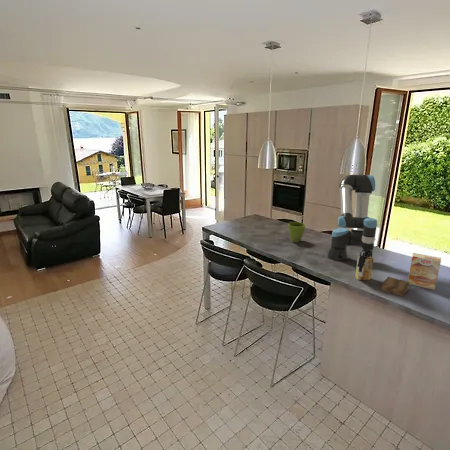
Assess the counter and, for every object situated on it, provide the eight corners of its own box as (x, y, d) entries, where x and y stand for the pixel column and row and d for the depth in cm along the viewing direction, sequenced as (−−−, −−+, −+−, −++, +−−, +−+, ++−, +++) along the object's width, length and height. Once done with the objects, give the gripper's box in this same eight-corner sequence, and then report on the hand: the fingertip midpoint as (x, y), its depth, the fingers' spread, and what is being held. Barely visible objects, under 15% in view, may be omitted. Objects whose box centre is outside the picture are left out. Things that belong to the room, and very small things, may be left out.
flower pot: (302, 238, 282) (304, 222, 278) (305, 244, 268) (306, 226, 263) (286, 238, 284) (287, 221, 279) (288, 243, 269) (289, 226, 265)
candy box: (367, 277, 205) (370, 256, 201) (370, 279, 201) (373, 258, 197) (354, 277, 205) (357, 256, 200) (357, 280, 201) (360, 258, 196)
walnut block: (381, 290, 189) (382, 282, 187) (387, 283, 197) (388, 276, 196) (402, 296, 181) (403, 289, 179) (407, 289, 189) (409, 282, 188)
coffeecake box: (407, 284, 196) (412, 255, 190) (407, 279, 201) (412, 252, 196) (434, 290, 188) (441, 261, 182) (434, 285, 193) (441, 257, 188)
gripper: (366, 247, 186) (361, 280, 192) (380, 239, 200) (376, 270, 206) (354, 244, 191) (350, 276, 198) (369, 237, 205) (365, 267, 212)
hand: (363, 273), depth 202 cm, fingers closed on candy box, 9 cm apart
